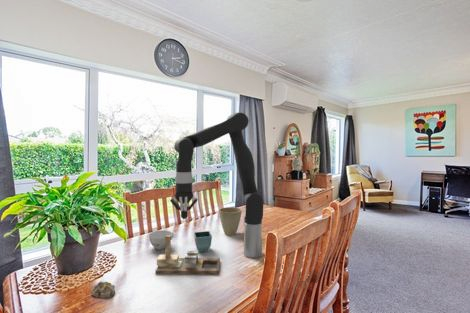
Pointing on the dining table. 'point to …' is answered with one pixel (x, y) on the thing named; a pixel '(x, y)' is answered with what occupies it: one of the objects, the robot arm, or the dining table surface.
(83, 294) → the dining table surface
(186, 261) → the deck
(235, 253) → the dining table surface
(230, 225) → the plant pot
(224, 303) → the dining table surface
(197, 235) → the flower pot
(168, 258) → the beige post stand
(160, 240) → the grey stone bowl
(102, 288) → the mineral rock
